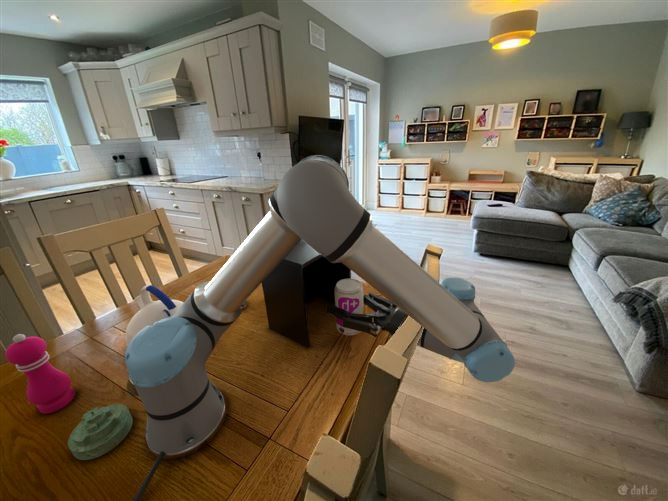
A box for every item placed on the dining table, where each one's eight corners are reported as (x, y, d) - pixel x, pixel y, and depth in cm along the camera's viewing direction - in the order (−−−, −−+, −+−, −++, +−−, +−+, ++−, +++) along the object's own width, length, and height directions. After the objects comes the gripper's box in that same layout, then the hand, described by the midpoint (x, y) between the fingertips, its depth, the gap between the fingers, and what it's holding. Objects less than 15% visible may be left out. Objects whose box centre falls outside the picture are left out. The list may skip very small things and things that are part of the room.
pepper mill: (74, 384, 70) (38, 320, 63) (81, 399, 66) (43, 332, 58) (35, 404, 65) (-10, 337, 57) (39, 422, 61) (-9, 352, 53)
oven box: (354, 307, 96) (353, 235, 86) (310, 349, 78) (302, 264, 68) (316, 294, 105) (311, 227, 95) (269, 328, 87) (256, 250, 77)
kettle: (178, 310, 99) (164, 265, 92) (215, 327, 89) (203, 278, 82) (114, 345, 83) (91, 294, 76) (151, 371, 73) (128, 315, 66)
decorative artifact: (60, 452, 55) (97, 466, 52) (44, 429, 52) (82, 442, 49) (110, 408, 64) (143, 417, 61) (98, 385, 61) (133, 395, 58)
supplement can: (361, 338, 79) (361, 293, 73) (333, 335, 80) (331, 291, 75) (364, 320, 86) (364, 278, 80) (338, 318, 88) (336, 276, 82)
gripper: (391, 364, 64) (315, 330, 76) (421, 317, 80) (354, 295, 92) (392, 338, 61) (313, 307, 73) (423, 294, 77) (353, 275, 89)
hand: (335, 300), depth 83 cm, fingers closed on supplement can, 8 cm apart
